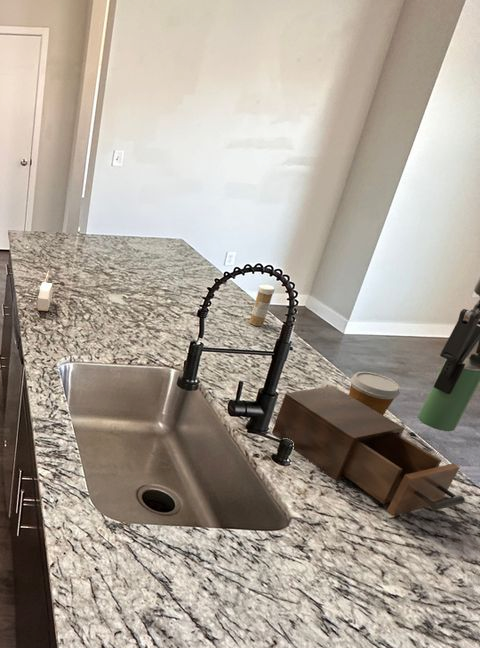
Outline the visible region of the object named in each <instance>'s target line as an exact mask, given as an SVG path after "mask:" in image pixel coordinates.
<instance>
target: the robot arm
mask: <svg viewBox="0 0 480 648" xmlns="http://www.w3.org/2000/svg"><path fill="white" fill-rule="evenodd" d="M473 291H474V293H475V294H476V295H477V296H479V297H480V277H479V278H478V281H476V284H475V286H474V289H473ZM476 345H477V347H476ZM475 347H476V351H475V353H471V352H472V351H473V350H474V348H475ZM439 354H440V357H441V358H443V359H445V360H446V359H447V360H446V362H445V361H444V362H445V364H444V363H443V364H444V366H443V365H442V366H443V368H442V367H441V368H442V370H441V369H440V370H441V372H440V371H439V372H440V374H439V373H438V374H439V376H438V375H437V376H438V378H437V377H436V378H437V380H436V379H435V381H436V382H435V381H434V383H435V385H434V384H433V385H434V388H436V389H438V390H440V391H442V392H444V393H446V394H451V392H452V390H453V388H454V386H455V384H456V382H457V380H458V378H459V376H460V374H461V372H462V370H463V368H464V366H465V364H463V362H464V360H465V359H466V358H468V357H469V359H472V360H475V361H477V362H479V363H480V299H478V301H477V302H476V304H474V306H473V308H472V309H470V310H469V309H466V308H463V309H461V311H460V312H459V315H458V319H457V322H456V324H455V325H454V327H453V329H452V331H451V333H450V335H449V336H448V339H447V341H446V343H445V344H444V346H443V348H442V350H441V352H440V353H439ZM469 355H470V356H469Z"/></svg>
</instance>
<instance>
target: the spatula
mask: <svg viewBox="0 0 480 648" xmlns="http://www.w3.org/2000/svg"><path fill="white" fill-rule="evenodd" d="M49 275H50V270H48V271H47V274H46V276H45V279H44V281H43V282H41V284H40V287H39V292H38V297H37V303H36V306H37V311H43V312H48V311H49V309H50V306H51V305H50V304H51V302H52V299H53V282H48V281H49V277H50V276H49Z"/></svg>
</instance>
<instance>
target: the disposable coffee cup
mask: <svg viewBox="0 0 480 648" xmlns="http://www.w3.org/2000/svg"><path fill="white" fill-rule="evenodd" d="M349 381H350V387H349V391H348V395H349V396H351V397H353V398H354V399H356V400H358V401H359V402H361V403H363V404H365V405H366V406H368V407H370V408H371V409H373V410H375V411H377V412H378V413H380V414H382V415H383V416H385V413H386V412H387V410H388V409H389V408H390V405H391V404H392V403H393V401H394V400H395V399H396V398H397V397H399V395H400V393H401V391H400V385H399V384H398V383H397V382H396V381H394V380H393V379H391V378H390V377H387V376H384V375H382V374H380V373H374V372H369V371H358V372H356V373H355V374H354V375H353V376H351V377H350V379H349Z"/></svg>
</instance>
